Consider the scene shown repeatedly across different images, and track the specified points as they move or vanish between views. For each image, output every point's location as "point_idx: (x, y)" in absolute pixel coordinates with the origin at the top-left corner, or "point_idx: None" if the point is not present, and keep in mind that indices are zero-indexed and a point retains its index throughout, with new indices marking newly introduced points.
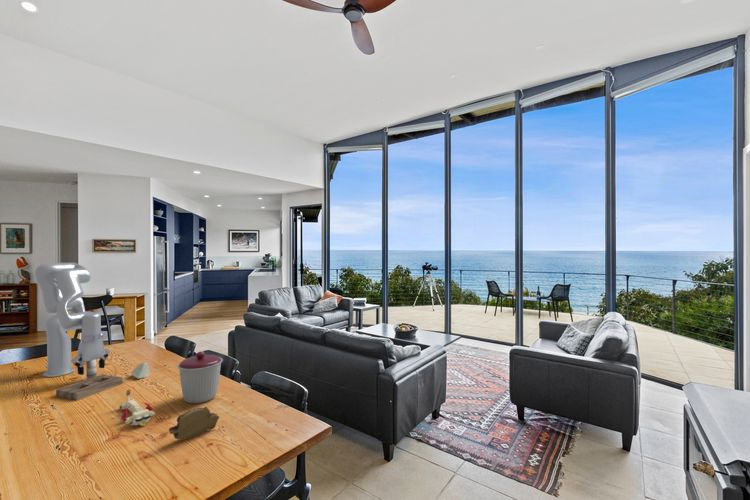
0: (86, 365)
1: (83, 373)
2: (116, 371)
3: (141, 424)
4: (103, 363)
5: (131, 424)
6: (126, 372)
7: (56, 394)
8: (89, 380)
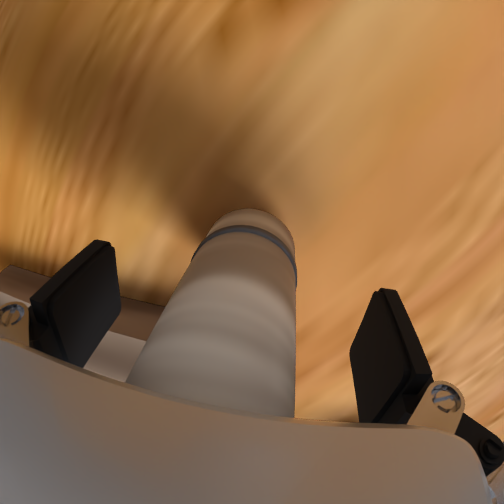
0: (147, 340)
1: (112, 318)
2: (483, 264)
3: None
4: (362, 404)
5: None
6: (443, 352)
7: (4, 273)
8: (131, 366)
